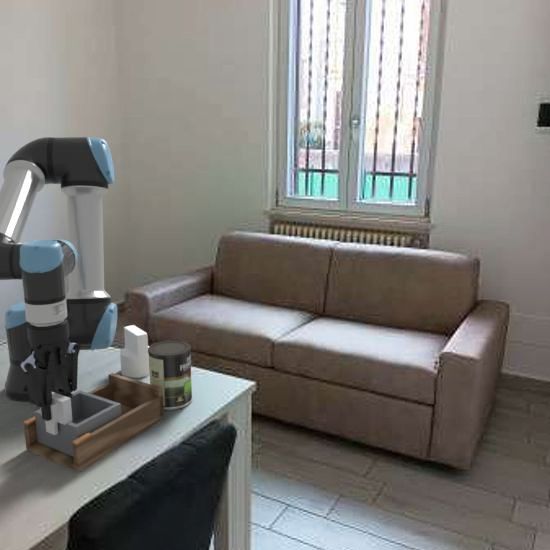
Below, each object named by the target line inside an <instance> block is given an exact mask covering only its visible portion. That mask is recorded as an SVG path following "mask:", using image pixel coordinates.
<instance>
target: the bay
mask: <svg viewBox="0 0 550 550" xmlns="http://www.w3.org/2000/svg"><path fill="white" fill-rule="evenodd" d="M87 393H90V394H93V395H96V396H99V397H102V398H105V399H108V400H111V401H114V402H117V403H120V404H121V416H120V417H118V418H117V419H115V420H113V421H111V422H110V423H108V424H106V425H104V426H102V427H101V428H99V429H97V430H95V431H93V432H92V433H86V434H85V435H83V436H81V437H79V438H77V439H76V440H74V441H72V445H73V456H74V457H73V456H70V455H68V454H65V453H63V452H61V451H58V450H56V449H54V448H51V447H49V446H46V445H44V444H42V443H39V442H38V440H37V431H36V421H35V416H33V417H31V418H28V419H27V420H24V421H23V429H24V430H23V431H24V439H25V447H26V450H27V451H29V452H31V453H34V454H35V455H39V456H40V457H43V458H45V459H48V460H50V461H52V462H54V463H57V464H59V465H61V466H64V467H66V468H68V469H71V470H73V471H75V472H78V473H80V472H82V471H84V470H85V469H86V468H88V467H90V466H91V465H93V464H94V463H95V464H96V462H98V461H99V460H101V459H103V458H105V457H106V456H108V455H109V454H111V453H113V452H114V451H115V450H117V449H119V448H120V447H122V446H124V445H126V444H127V443H129V442H130V441H132V440H133V439H135V438H137V437H138V436H140V435H142V434H143V433H146V431H148V430H150V429H152V428H153V427H155V426H156V425H158V424H160V423H161V422H162V420H163V421H165V413H164V412H165V410H164V407H163V388H161V387H157V386H154V385H151V384H150V383H147V382H143V381H141V380H137V379H135V378H131V377H126V376H123V375H122V374H121V375H120V374H117V373H113V372H112V373H109V374H108V383H105V384H104V385H101V386H99V387H97V388H94V389H92V390H90V391H88V392H87ZM159 422H160V423H159ZM154 425H155V426H154Z"/></svg>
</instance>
